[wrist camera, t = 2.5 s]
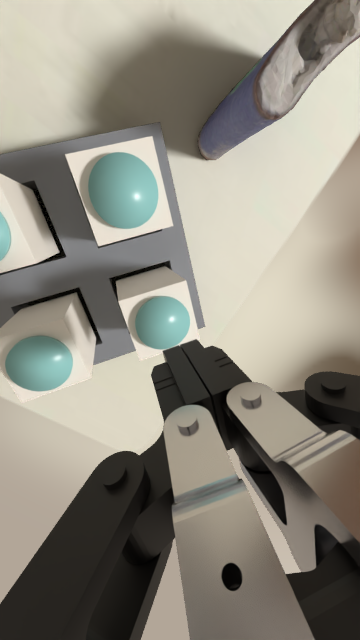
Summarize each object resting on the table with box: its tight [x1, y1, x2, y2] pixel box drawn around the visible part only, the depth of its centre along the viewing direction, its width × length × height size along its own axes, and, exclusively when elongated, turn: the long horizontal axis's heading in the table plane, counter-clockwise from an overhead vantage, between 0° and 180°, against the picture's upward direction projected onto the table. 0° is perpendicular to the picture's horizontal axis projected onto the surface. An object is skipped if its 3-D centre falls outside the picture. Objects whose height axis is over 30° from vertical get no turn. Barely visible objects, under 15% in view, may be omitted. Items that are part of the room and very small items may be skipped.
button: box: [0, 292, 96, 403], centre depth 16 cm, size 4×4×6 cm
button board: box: [0, 122, 205, 365], centre depth 19 cm, size 15×15×3 cm
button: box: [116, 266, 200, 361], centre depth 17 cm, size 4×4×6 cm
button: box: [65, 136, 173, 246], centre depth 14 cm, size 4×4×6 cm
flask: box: [197, 0, 360, 160], centre depth 15 cm, size 9×3×11 cm, turn 131°
